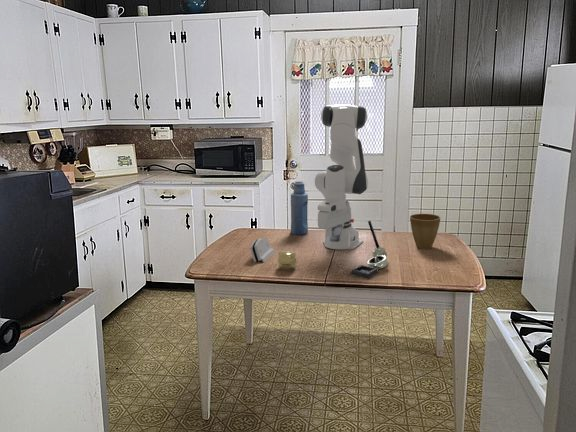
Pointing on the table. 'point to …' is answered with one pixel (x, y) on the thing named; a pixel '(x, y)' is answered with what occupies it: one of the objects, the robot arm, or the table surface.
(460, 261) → the table surface
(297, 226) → the bottle
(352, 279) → the table surface
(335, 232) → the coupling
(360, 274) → the flange socket
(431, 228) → the plant pot
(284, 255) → the cylinder
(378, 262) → the butterfly valve
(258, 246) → the grey bevelled device
